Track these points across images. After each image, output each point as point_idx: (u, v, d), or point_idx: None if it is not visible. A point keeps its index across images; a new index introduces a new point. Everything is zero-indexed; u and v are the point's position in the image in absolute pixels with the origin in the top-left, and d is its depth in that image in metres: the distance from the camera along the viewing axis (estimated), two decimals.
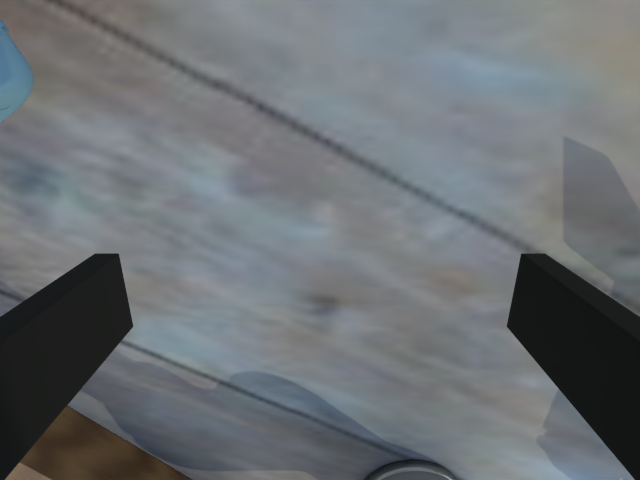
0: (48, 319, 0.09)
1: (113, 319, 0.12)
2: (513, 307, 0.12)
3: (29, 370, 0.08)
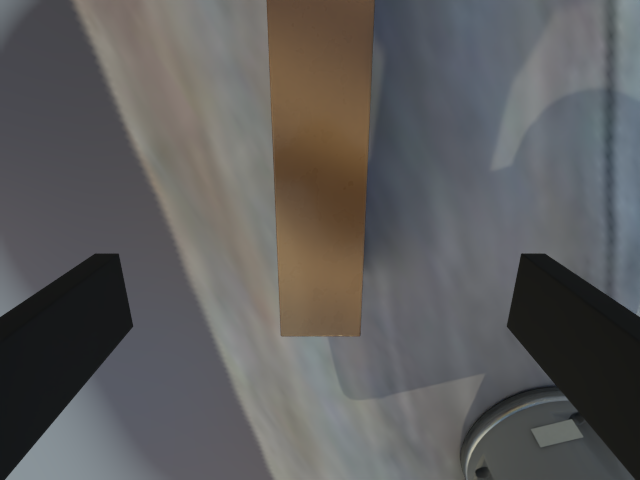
0: (48, 319, 0.09)
1: (113, 319, 0.12)
2: (513, 307, 0.12)
3: (29, 370, 0.08)
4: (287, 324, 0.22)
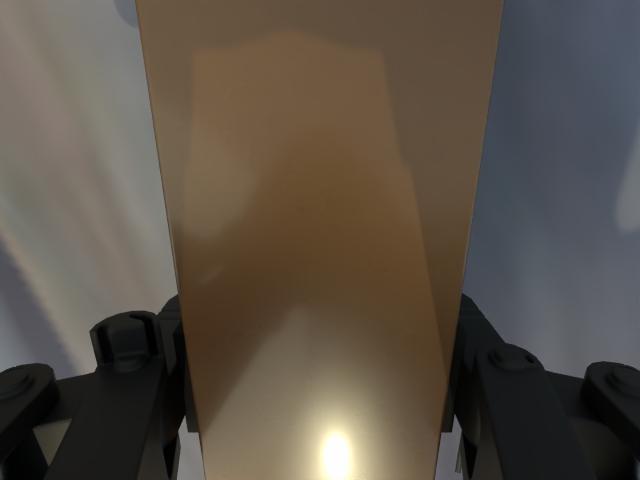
0: None
1: None
2: None
3: None
4: None
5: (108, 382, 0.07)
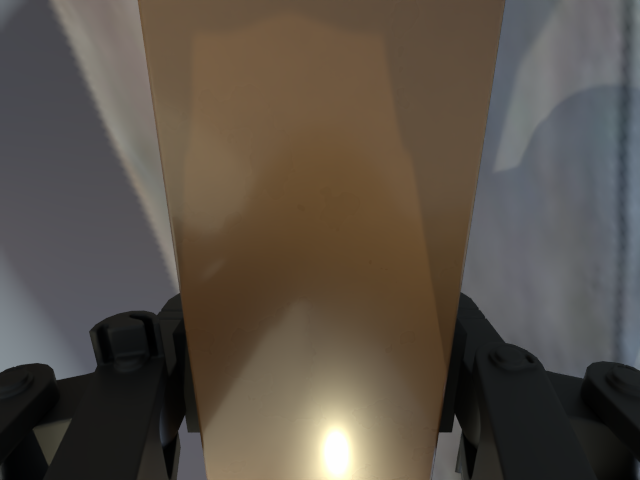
0: None
1: None
2: None
3: None
4: None
5: (108, 382, 0.07)
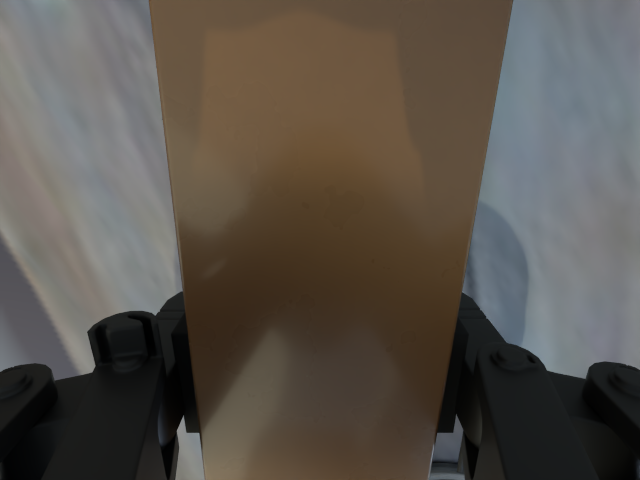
0: None
1: None
2: None
3: None
4: None
5: (106, 382, 0.07)
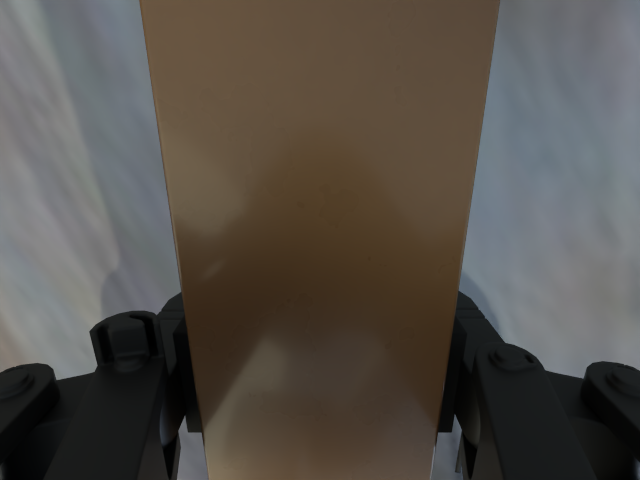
0: None
1: None
2: None
3: None
4: None
5: (108, 382, 0.07)
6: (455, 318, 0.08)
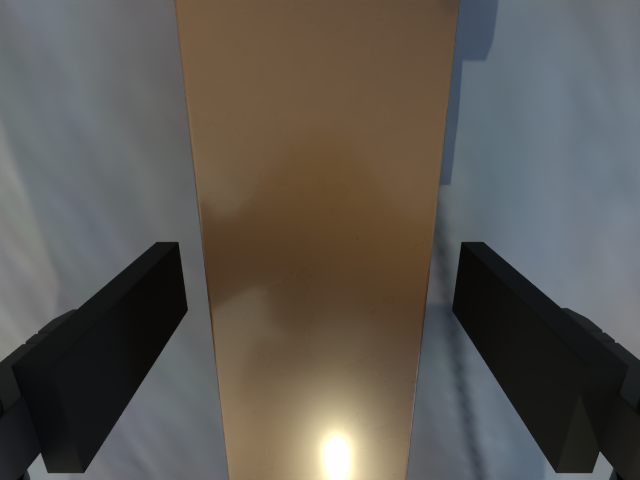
0: (134, 297, 0.10)
1: (175, 302, 0.13)
2: (456, 291, 0.13)
3: (122, 341, 0.09)
4: None
5: None
6: (604, 346, 0.07)
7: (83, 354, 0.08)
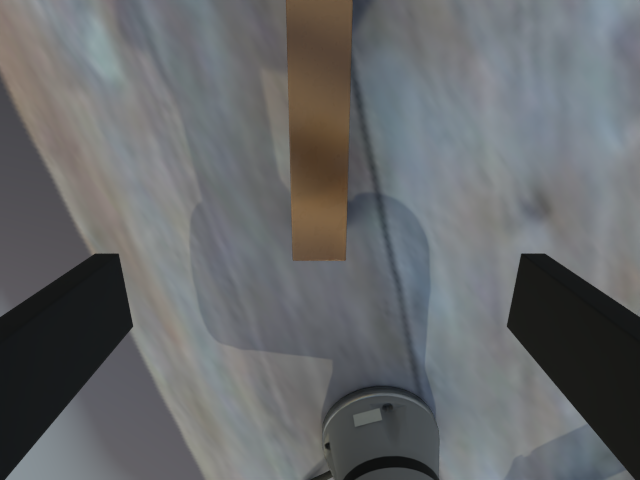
0: (48, 319, 0.09)
1: (113, 319, 0.12)
2: (513, 307, 0.12)
3: (29, 370, 0.08)
4: (297, 251, 0.33)
5: None
6: None
7: None
